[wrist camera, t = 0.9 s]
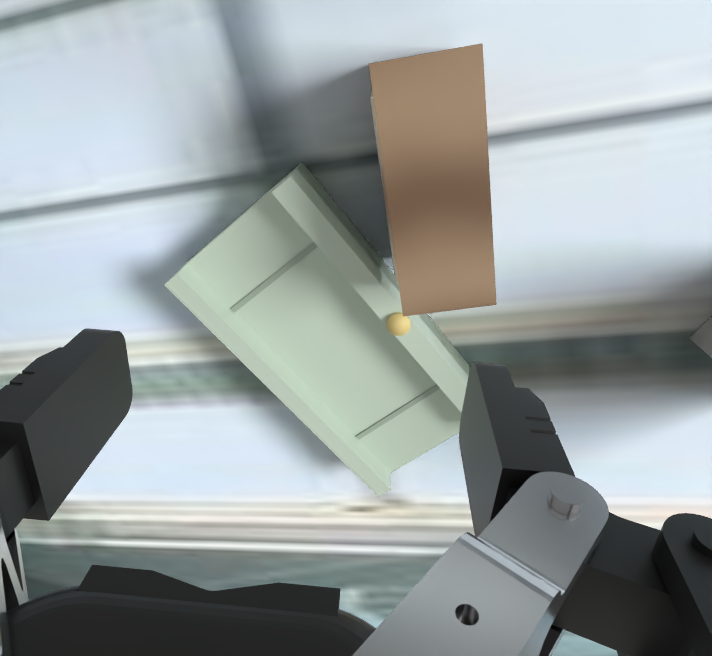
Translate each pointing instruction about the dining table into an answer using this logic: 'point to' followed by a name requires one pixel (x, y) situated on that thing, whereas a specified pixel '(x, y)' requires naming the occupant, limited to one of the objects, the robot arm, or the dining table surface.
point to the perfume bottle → (704, 337)
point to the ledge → (327, 329)
